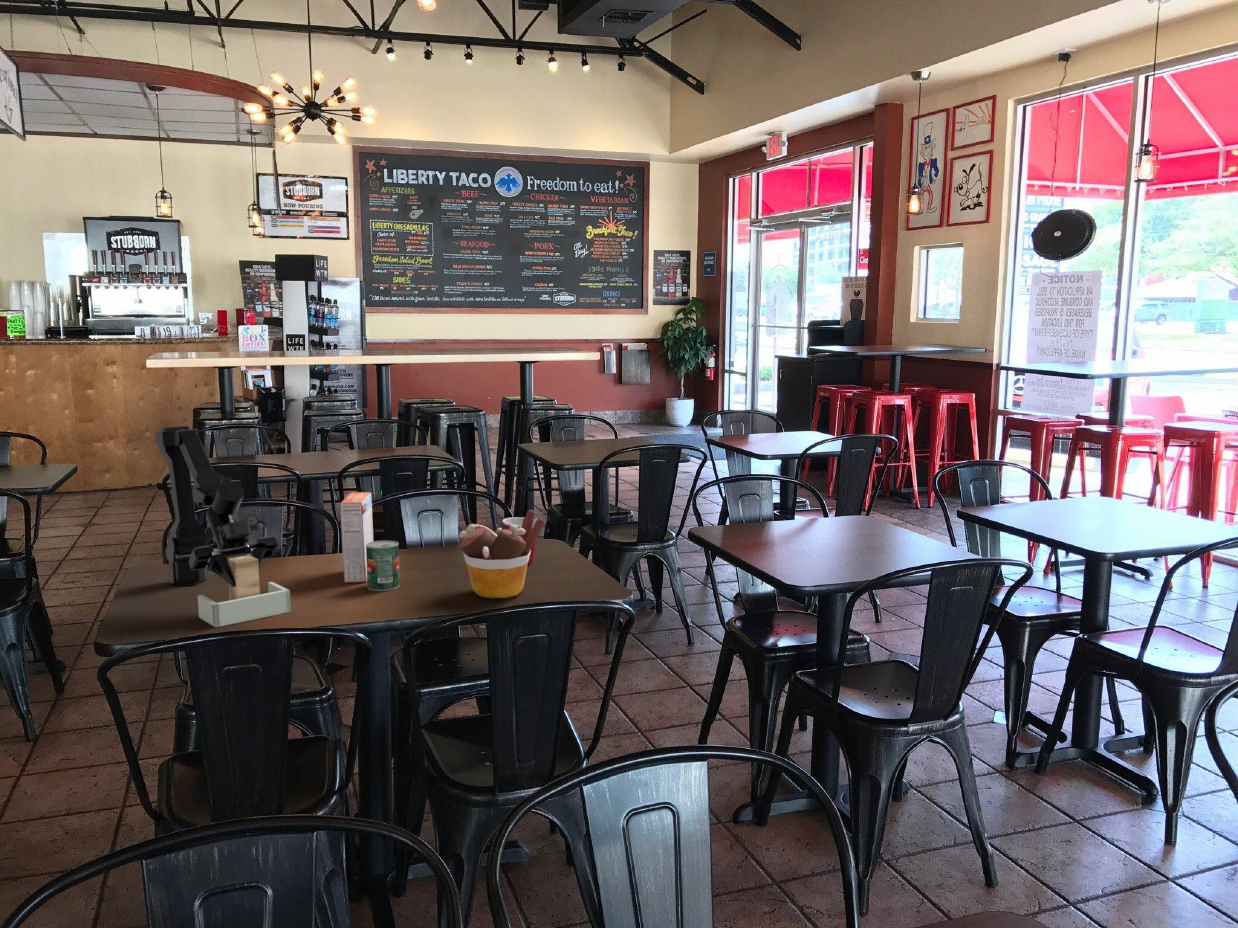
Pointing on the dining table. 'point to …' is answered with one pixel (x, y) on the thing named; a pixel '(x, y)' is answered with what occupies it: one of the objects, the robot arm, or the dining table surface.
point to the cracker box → (356, 535)
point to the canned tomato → (382, 565)
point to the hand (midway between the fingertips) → (246, 583)
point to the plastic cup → (518, 523)
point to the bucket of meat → (499, 556)
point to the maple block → (244, 577)
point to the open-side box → (245, 607)
